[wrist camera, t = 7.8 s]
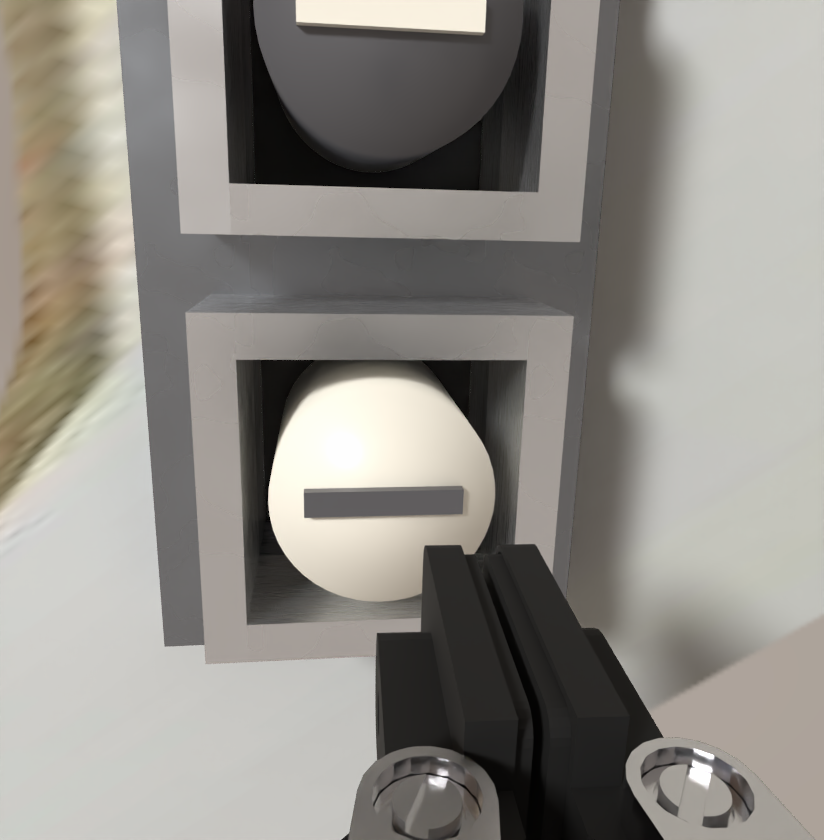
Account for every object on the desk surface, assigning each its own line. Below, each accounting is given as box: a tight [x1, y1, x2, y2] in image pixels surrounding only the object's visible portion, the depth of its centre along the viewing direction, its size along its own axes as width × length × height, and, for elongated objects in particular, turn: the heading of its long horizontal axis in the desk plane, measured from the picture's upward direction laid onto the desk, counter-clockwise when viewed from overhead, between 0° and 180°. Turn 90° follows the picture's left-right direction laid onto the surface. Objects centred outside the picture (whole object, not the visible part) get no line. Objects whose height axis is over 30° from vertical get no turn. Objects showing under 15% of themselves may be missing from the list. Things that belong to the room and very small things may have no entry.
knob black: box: [253, 0, 523, 173], centre depth 17 cm, size 5×5×6 cm
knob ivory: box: [268, 360, 495, 602], centre depth 20 cm, size 5×5×6 cm
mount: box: [117, 0, 620, 664], centre depth 19 cm, size 12×22×6 cm, turn 179°
